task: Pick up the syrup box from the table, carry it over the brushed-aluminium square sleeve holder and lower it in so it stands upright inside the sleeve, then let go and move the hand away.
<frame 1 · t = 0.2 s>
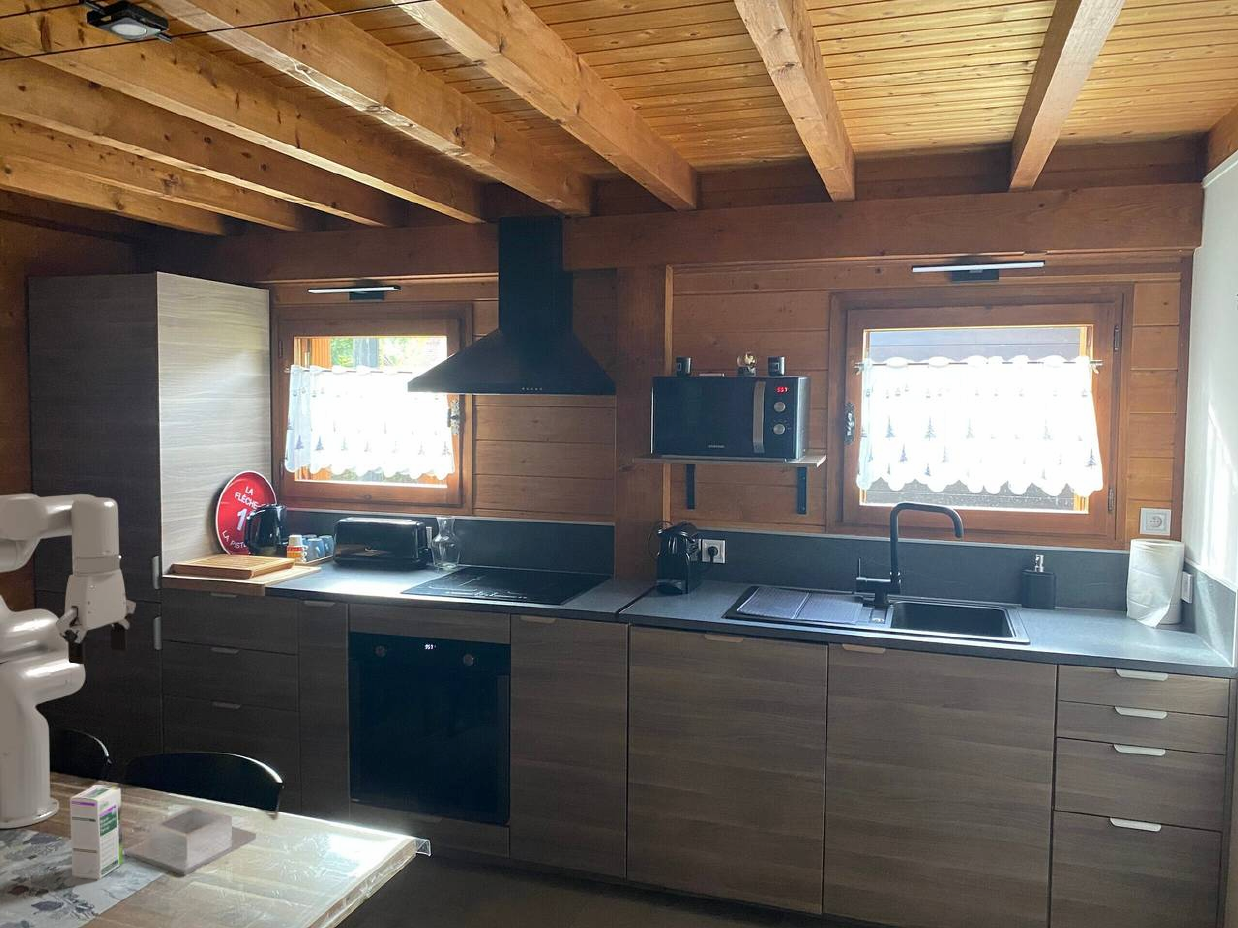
hand: (98, 656, 173), 36 cm above the table, tool pointing down, fingers open, 9 cm apart
sleeve holder: (191, 846, 176), on the table
syrup box: (97, 871, 167), on the table
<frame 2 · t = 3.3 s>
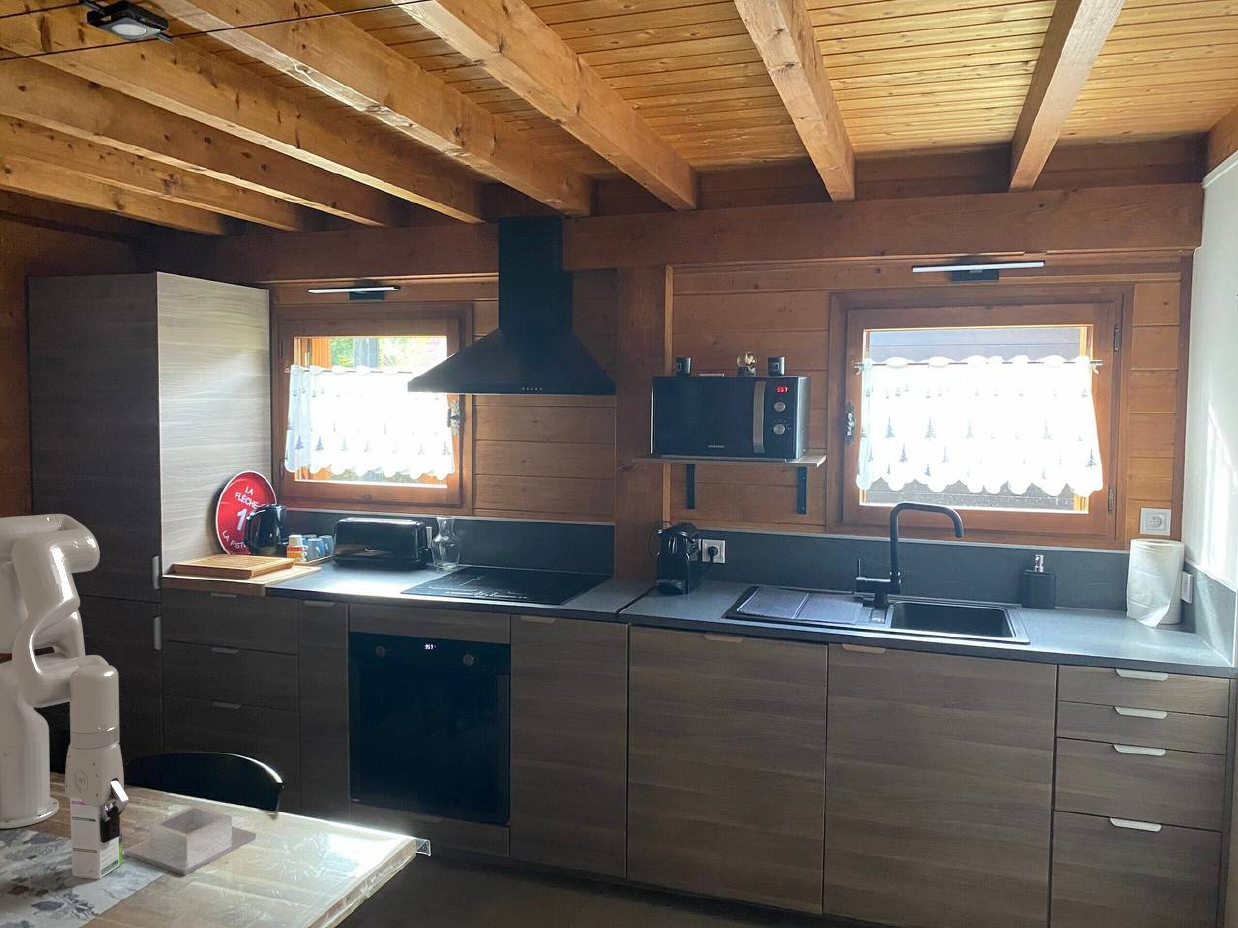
hand: (96, 833, 166), 7 cm above the table, tool pointing down, fingers closed on syrup box, 6 cm apart
syrup box: (97, 871, 167), on the table, touching gripper
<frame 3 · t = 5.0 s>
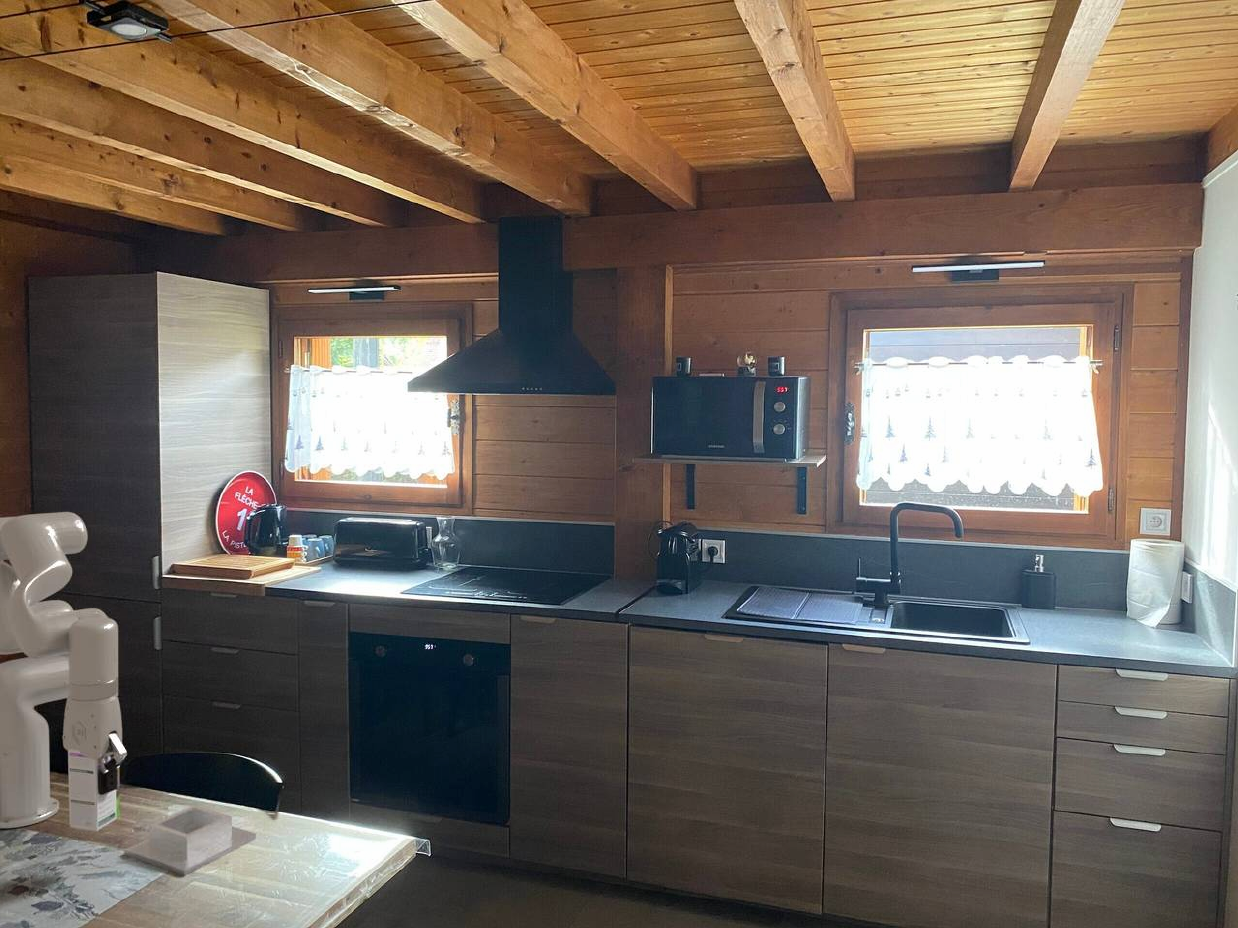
hand: (94, 786, 166), 15 cm above the table, tool pointing down, fingers closed on syrup box, 6 cm apart
syrup box: (94, 823, 167), point 8 cm above the table, touching gripper
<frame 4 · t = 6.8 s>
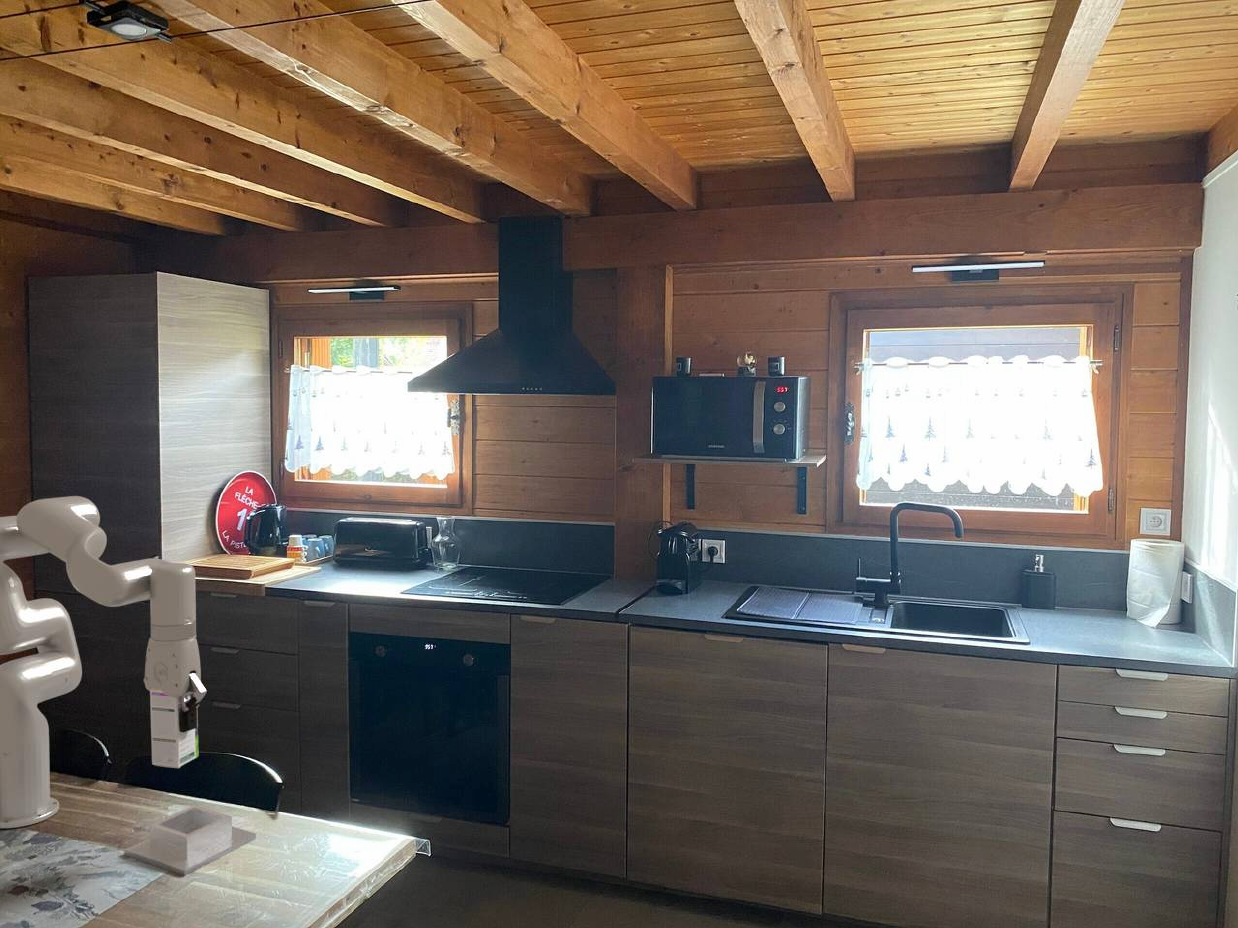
hand: (174, 725, 173), 24 cm above the table, tool pointing down, fingers closed on syrup box, 6 cm apart
syrup box: (175, 762, 173), point 17 cm above the table, touching gripper
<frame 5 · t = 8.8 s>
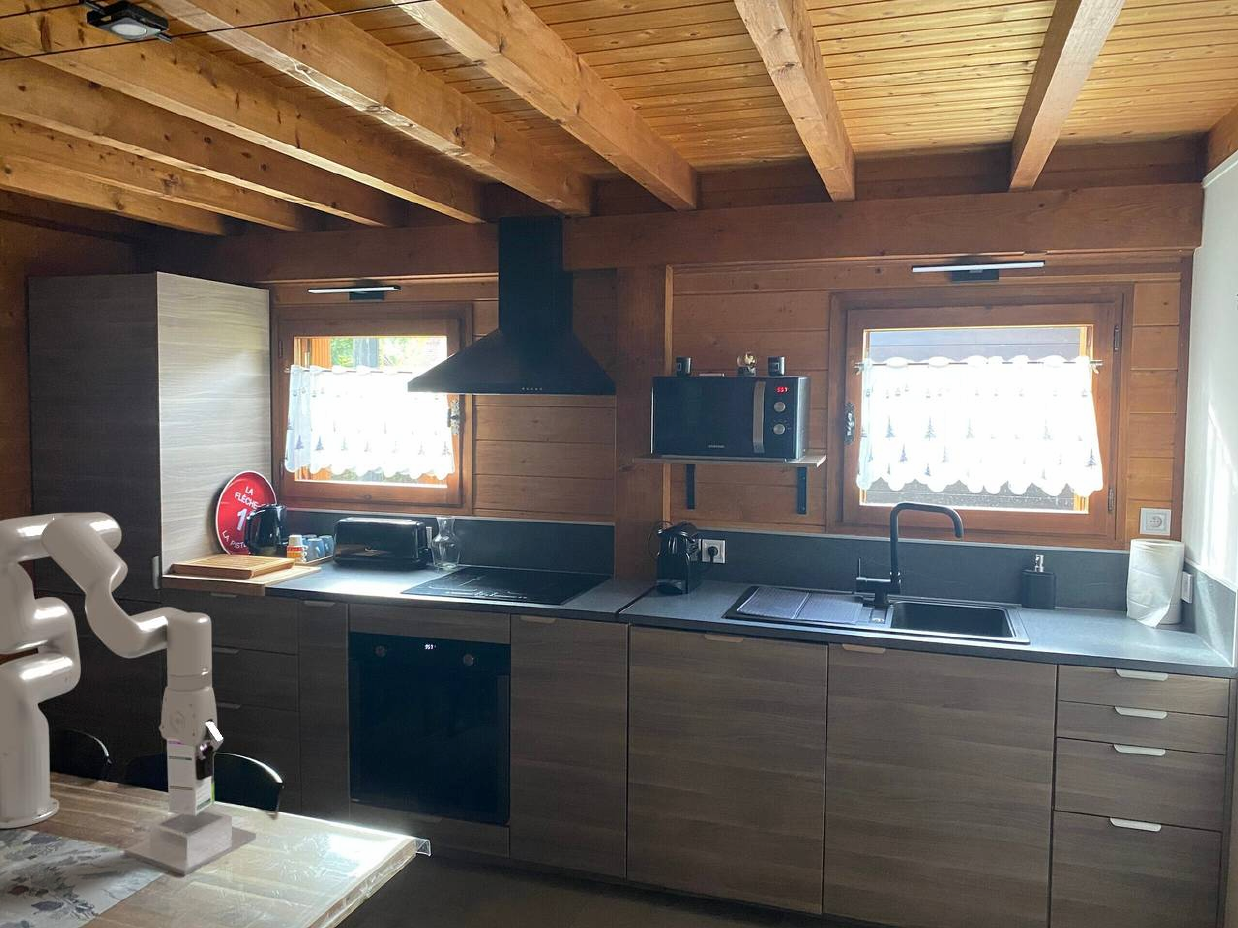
hand: (191, 773, 175), 14 cm above the table, tool pointing down, fingers closed on syrup box, 6 cm apart
syrup box: (191, 808, 176), point 7 cm above the table, touching gripper
when the fingers open (9 cm above the table, at t = 10.3 s): syrup box drops 1 cm, resting on sleeve holder.
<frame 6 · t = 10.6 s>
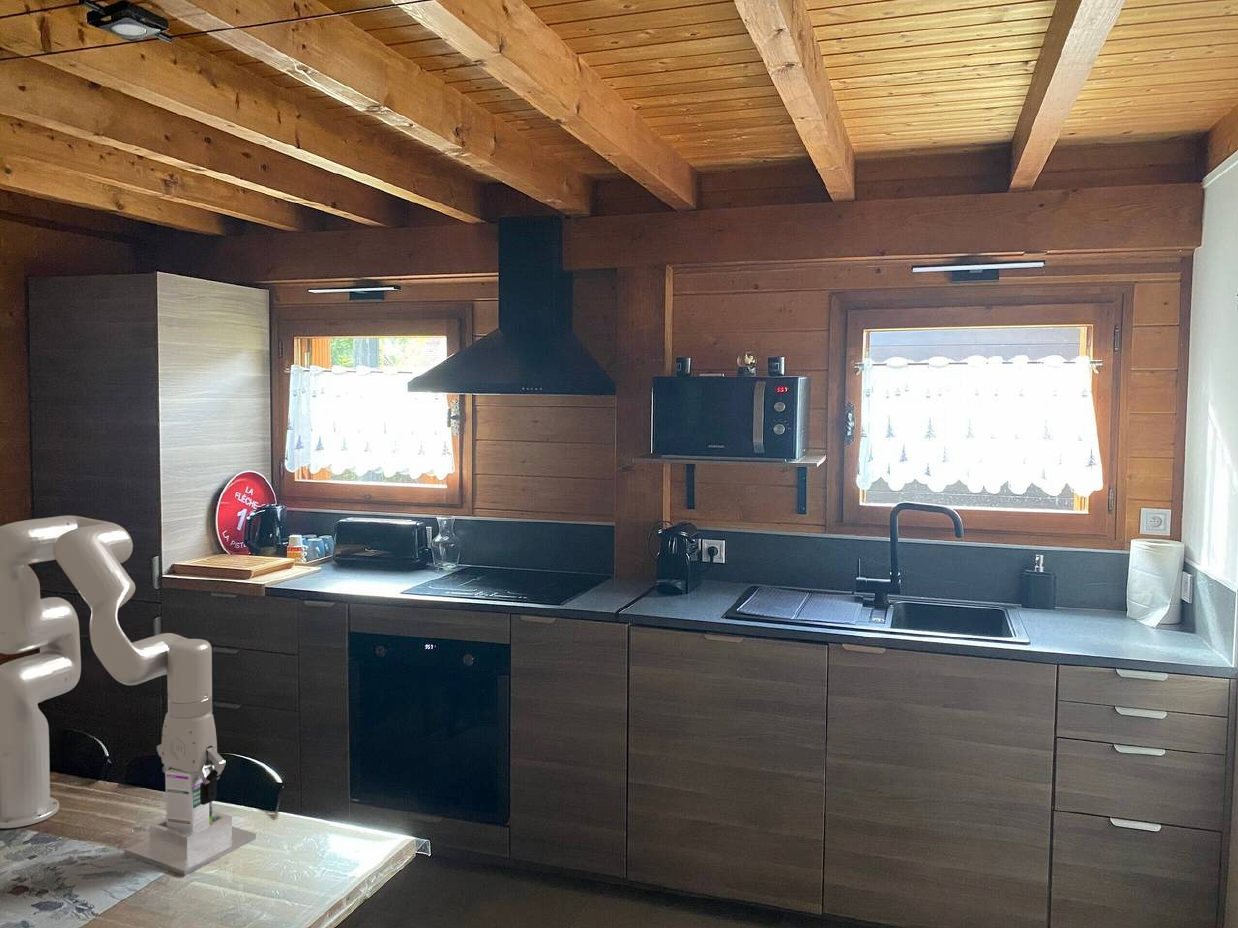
hand: (190, 796, 175), 10 cm above the table, tool pointing down, fingers open, 9 cm apart
syrup box: (189, 841, 176), point 1 cm above the table, touching sleeve holder
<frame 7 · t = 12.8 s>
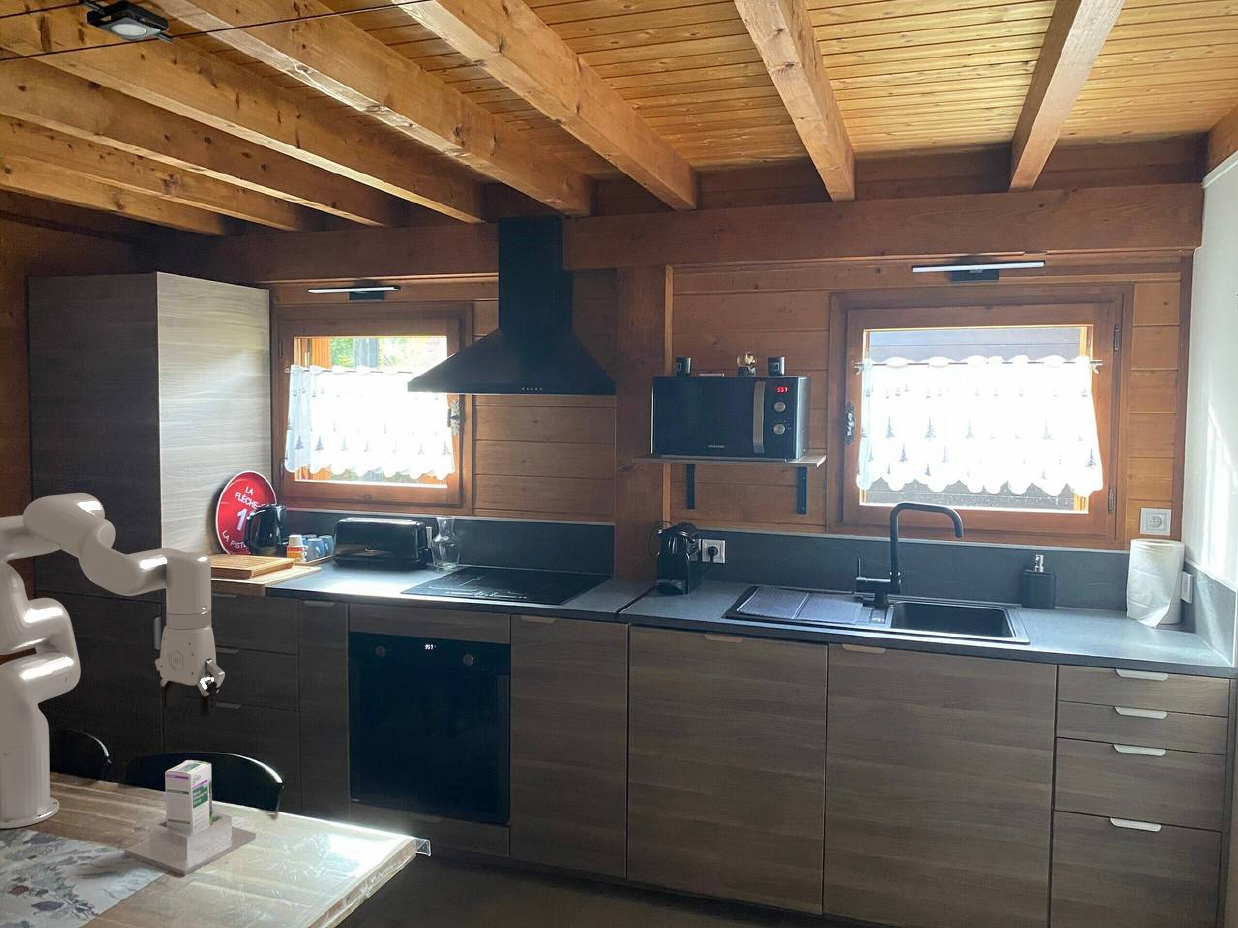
hand: (189, 710, 174), 26 cm above the table, tool pointing down, fingers open, 9 cm apart
nothing on the table moved.
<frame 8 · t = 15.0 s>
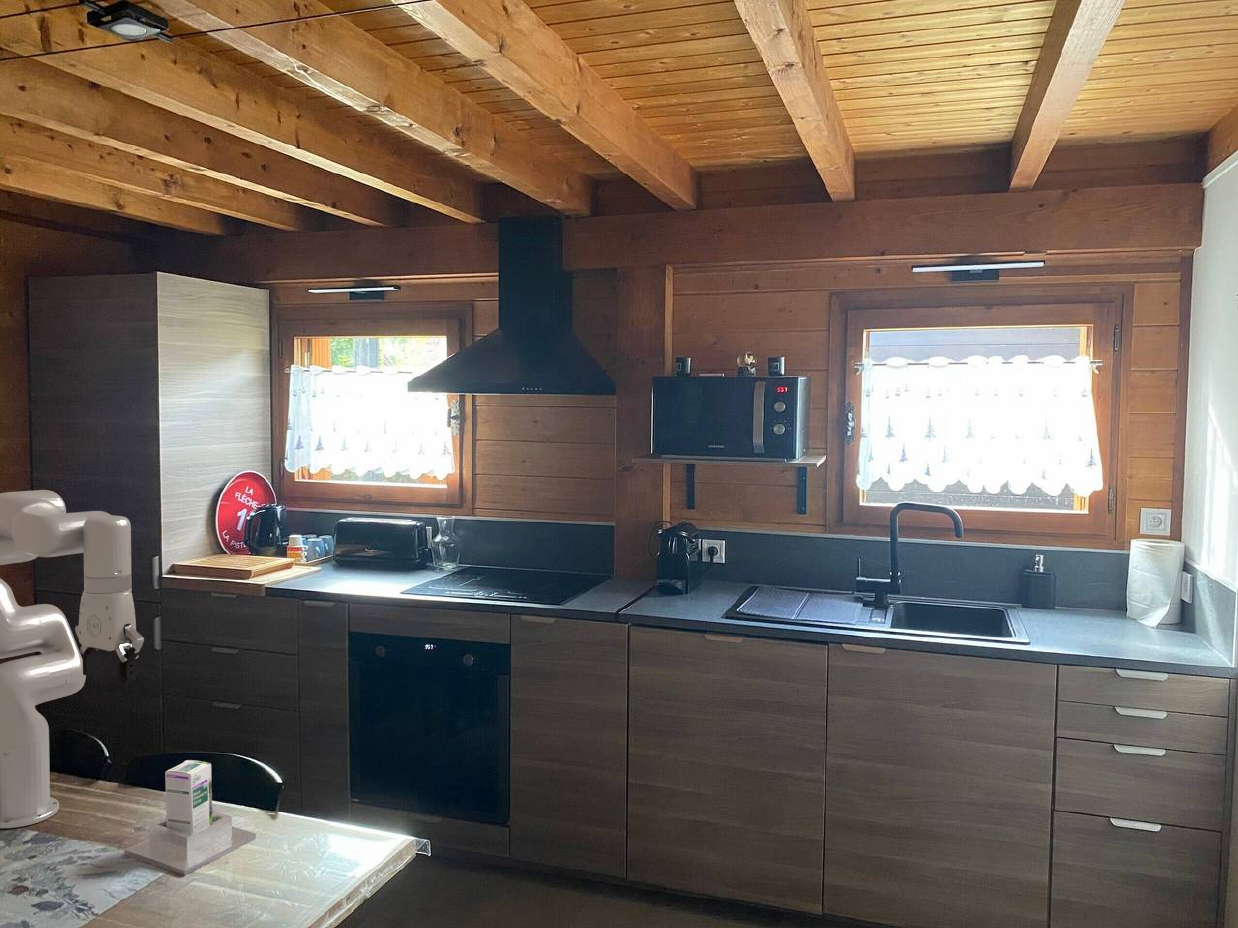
hand: (109, 677, 170), 33 cm above the table, tool pointing down, fingers open, 9 cm apart
nothing on the table moved.
at the end: syrup box 0.4 cm off-centre on the sleeve holder, point 0.8 cm above the sleeve holder's base; syrup box tilted 0°; the gripper is holding nothing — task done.
